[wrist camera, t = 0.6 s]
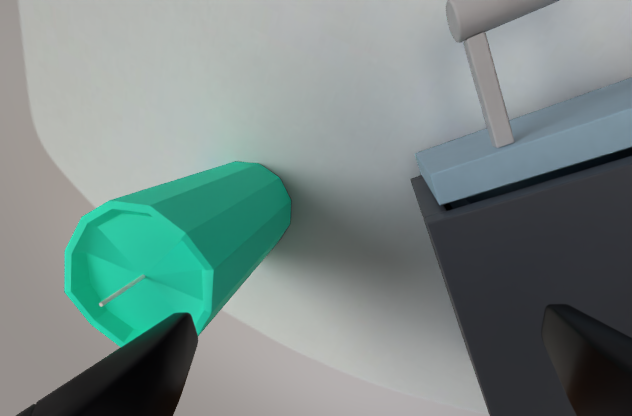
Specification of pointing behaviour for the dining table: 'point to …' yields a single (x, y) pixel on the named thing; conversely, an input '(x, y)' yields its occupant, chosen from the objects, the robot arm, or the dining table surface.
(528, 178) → the drawer
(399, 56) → the dining table surface
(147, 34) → the dining table surface
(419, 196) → the dark grey box
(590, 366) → the robot arm
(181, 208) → the candle
